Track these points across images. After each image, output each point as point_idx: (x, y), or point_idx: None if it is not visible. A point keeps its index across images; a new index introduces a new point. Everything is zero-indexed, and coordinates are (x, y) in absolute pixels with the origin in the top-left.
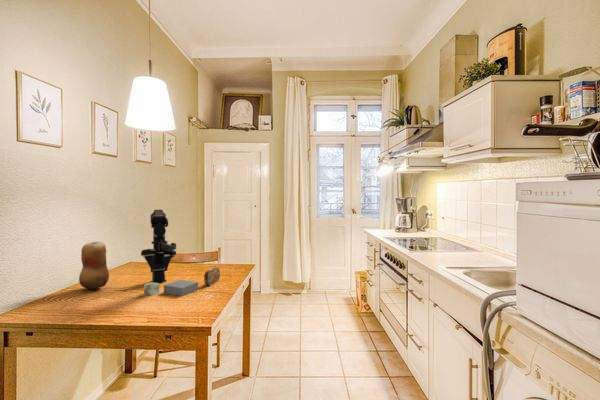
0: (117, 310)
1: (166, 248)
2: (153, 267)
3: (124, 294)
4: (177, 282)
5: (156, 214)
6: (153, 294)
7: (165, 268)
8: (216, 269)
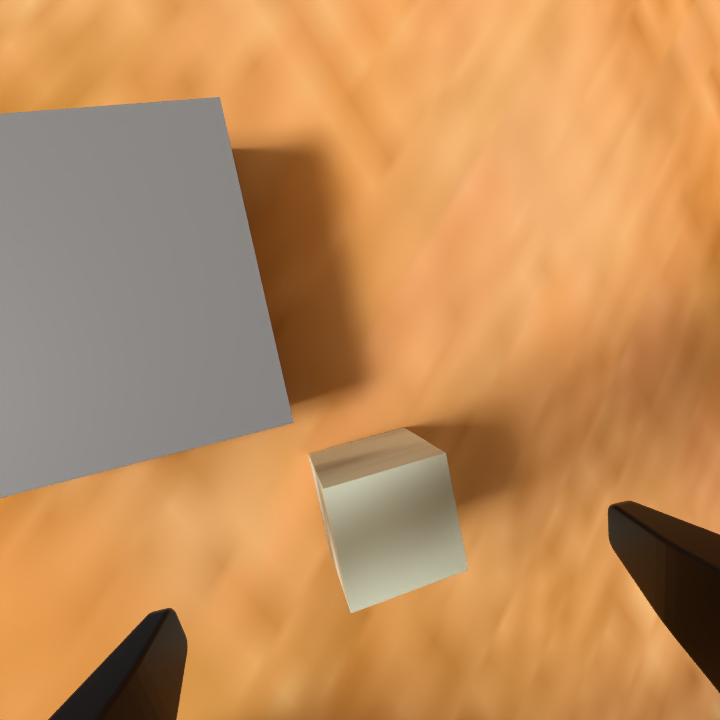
0: (717, 288)
1: None
2: (663, 524)
3: (521, 639)
4: (73, 401)
5: None
6: (381, 434)
7: (175, 658)
8: None
